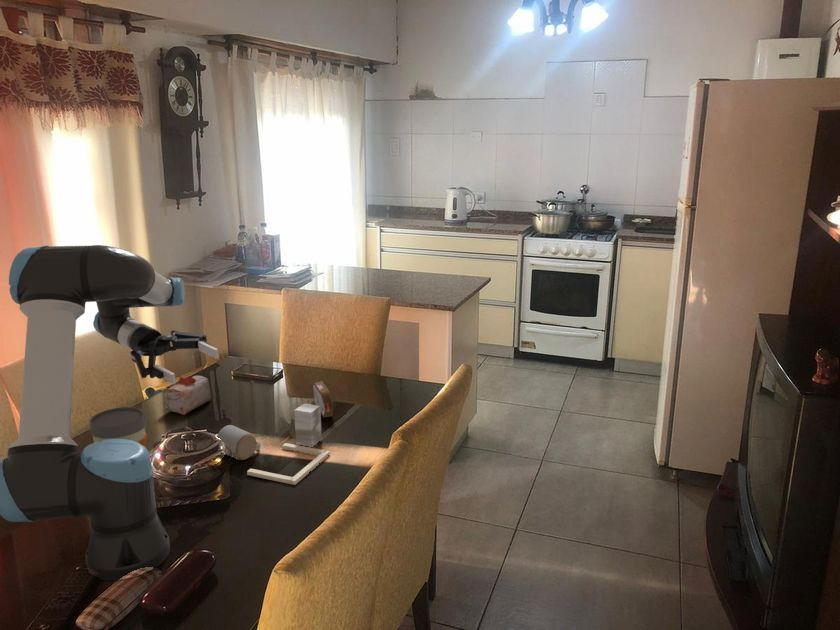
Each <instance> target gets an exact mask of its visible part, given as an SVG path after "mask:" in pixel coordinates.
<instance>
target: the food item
mask: <svg viewBox="0 0 840 630" xmlns="http://www.w3.org/2000/svg"><path fill="white" fill-rule="evenodd" d="M177 381H178V382H177V383H175V384H172V386H170V387H169V388H168V389H167V391H165V393H164V394H163V399H164V408H165V409H166V410H167V411H170V412H173V413H176V414H179V415H183V416H185V415H187V414H188V413H190V412H192V411H193V410H194V409H197V408H198V407H201V406H203V405H204V404H206V403H208V402H210V401H211V400H212V397H211V389H210V383H209V379H208V378H207V377H205V376H202V375H194V376H186V377H183V376H179V379H178V380H177Z"/></svg>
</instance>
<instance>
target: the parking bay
mask: <svg viewBox="0 0 840 630" xmlns="http://www.w3.org/2000/svg"><path fill="white" fill-rule="evenodd" d="M281 448H282V450H288V451H292V450H293V451H294V452H297V451H299V452H298V453H302V452H305V453H304V454H307V453H310V454H309V455H313V454H315V455H314V456H316V457H315V458H314V459H313V460H312V461H310V462H309V463H307V465H306V466H304V467H303V468H301V470H299V471H298V472H297V473H296V474H295V475H294V476H290V475H289V476H288V475H283V474H280V473H274V472H269V471H264V470H260V469H255V468H249V469H248V470H246V475H247V476H251V477H256V478H259V479H260V478H261V479H265V480H270V481H275V482H280V483H283V484H284V483H285V484H287V485H288V484H289V485H294V486H296V485H297V484H298V483H299V482H300V481H301V480H303V479H304V478H305V477H306V476H307V475H309V474H310V473H311V472H312V471H313V470H314V469H315V468H317V467H318V466H319V465H320V464H321V463H322V462H323V460H324V459H325V458H326V457H327V456H328V455H329V454H330V455H331V451H330V450H325V449H320V448H314V447H313V448H311V447H305V446H300V445H296V444H293V443H287V442H285V443H283V444H282V445H281ZM318 455H319V456H318ZM330 455H329V456H330ZM329 456H328V457H329ZM328 457H327V458H328ZM327 458H326V459H327ZM326 459H325V460H326ZM325 460H324V461H325ZM319 463H320V464H319ZM316 466H317V467H316ZM310 471H311V472H310ZM309 472H310V473H309Z"/></svg>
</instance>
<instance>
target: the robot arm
mask: <svg viewBox="0 0 840 630" xmlns="http://www.w3.org/2000/svg"><path fill="white" fill-rule="evenodd" d="M154 269H155V268H154V267H153V265H152V263H150V262H149V261H148V260H147V259H146V258H144V257H142V256H140V255H138V254H137V253H134V252H131V251H128V250H126V249H122V248H119V247H116V246H115V247H114V246H111V245H104V244H103V245H100V244H93V245H92V244H91V245H62V246H59V245H56V246H49V245H41V246H35V247H32V246H31V247H26V248H24V249H22V250H21V251H19V252H17V254H16V255H15V257H14V258H13V260H12V262H11V266H10V269H9V275H8V285H9V286H10V287H9V294H10V297H11V299H12V300H13V302H15V304H18V305H19V310H20V312H21V313H22V314H23V315H24V316H26V318H27V322H26V335H25V344H24V345H25V348H24V358H23V359H24V361H23V373H22V387H21V398H20V413H19V426H18V437H17V439H16V440H15V441H14V442H12V443H11V444H10V445H9V446H8V448H7V457H4V458H1V459H0V516H1V517H2V518H3V519H4V520H5V521H7V522H9V523H10V522H11V523H19V522H20V523H23V522H29V523H35V522H37V521H48V520H58V519H59V520H60V519H67V518H68V519H69V518H77V517H79V518H80V517H89V519H90V520H89V521H90V525H91V529H90V530H91V531H90V534H89V539H88V546H87V549H86V551H85V555H84V557H85V559H84V560H85V566H86V565H87V566H88V567H89V568H90V569H93V570H95V571H97V572H98V574H99V577H100V579H99V580H103V581H119V580H118V579H120V578H122V577H123V576H125V575H127V574H128V573H130V572H132V571H134V570H137V569H140V568H145V567H153V568H154V569H156V568H157V567H159V566H160V565H162V563H163V562H164V561H165V560H166V559H167V558H168V557H169V555H170V552H171V544H170V536H169V535H168V532H167V531H166V529H165V527H164V525H163V523H162V521H161V519H160V517H159V515H158V513H157V512H158V511H157V506H156V505H157V504H156V503H157V502H156V495H155V483H154V477H153V476H154V475H153V474H154V468H153V466H152V461H151V455H150V452H149V450H148V448H147V447H146V448H145V447H144V446H143V445H141V444H140V443H138V442H135V441H132V440H126V439H107V440H102V442H94V443H93V442H92V443H90V444H88V445H87V446H85V447H84V448H83V450H82V451H81V453H80V452H79V444H78V443H77V442H75V440H73V438H71V421H72V420H71V419H72V404H73V403H72V402H73V401H72V400H73V381H74V367H75V366H74V365H75V350H76V349H75V347H76V327H77V321H78V319H79V318H80V317H82V316H83V315H84V314H85V313H86V303H91V302H92V303H95V302H96V303H95V304H96V307H97V313H96V314H95V315H94V319H93V321H92V323H93V328H94V330H95V331H96V332H97V333H99V334H100V335H101V336H103V338H106V339H109V340H110V341H112V342H115V343H116V344H119V345H121V346H122V347H125V348H126V349H129V350H131V351H130V356H131V361H133V362H134V363H135V365H136V367H137V369H138V372H139V374H140V377H141V379H146V378H147V376H149V378H150V379H155V378H157V379H159V380H161V379H163V380H165V381H167V382H169V383H171V384H172V385H175V384H177V380H176V374H175V373H174V372H173V371H170V370H169V369H167V368H164V367H162V366H161V365H159V364H156V361H157V357H161V356H163V355H164V354H165V353H168V352H173V351H176V350H193V349H194V350H195V349H198V351H199V352H201V353H204V354H205V355H207V356H209V357H211V358H213V359H216V360H217V359H219V356H220V355H219V349H218V348H217V347H214V346H213V345H212V344H211V343H209V342H208V341H207V335H206V334H201V333H191V332H182V331H178V330H174V329H172V330H170V334H169V335H163V334H162V333H161V332H159V331H160V330H159V331H158V330H157V329H155V328H153V327H151V326H149V325H147V324H145V323H142V322H141V321H138V320H137V319H134V318H132V317H131V313H130V308H132V309H133V308H152V307H157V308H158V307H160V308H161V307H170V308H171V307H175V306H178V307H179V306H182V305H183V304H184V303H185V299H186V293H185V292H186V289H185V283H184V281H183V279H182V278H181V277H164V276H163V275H161V274H160V273H159V272H157V271H155V270H154ZM142 357H148V360H147V361H148V364H147V367H145V364H144V361H143V359H142ZM78 452H79V453H78Z"/></svg>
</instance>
